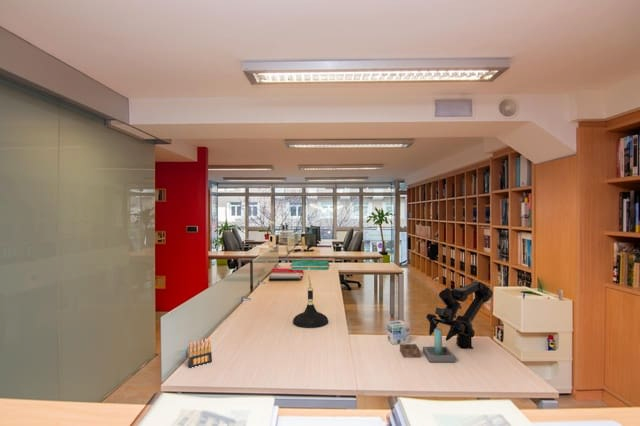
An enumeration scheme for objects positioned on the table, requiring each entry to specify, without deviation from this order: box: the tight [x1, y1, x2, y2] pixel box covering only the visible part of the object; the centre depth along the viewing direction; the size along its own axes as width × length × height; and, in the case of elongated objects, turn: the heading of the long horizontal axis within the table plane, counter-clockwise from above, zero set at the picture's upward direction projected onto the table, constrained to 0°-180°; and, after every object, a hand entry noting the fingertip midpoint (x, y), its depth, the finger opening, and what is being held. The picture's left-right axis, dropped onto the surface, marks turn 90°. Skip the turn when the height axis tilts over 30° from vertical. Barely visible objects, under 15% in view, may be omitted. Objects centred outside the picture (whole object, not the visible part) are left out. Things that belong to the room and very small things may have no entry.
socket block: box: [399, 343, 421, 358], centre depth 175 cm, size 8×8×4 cm
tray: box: [422, 346, 456, 364], centre depth 170 cm, size 12×12×3 cm
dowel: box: [433, 328, 443, 356], centre depth 170 cm, size 4×4×13 cm
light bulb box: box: [387, 319, 411, 345], centre depth 192 cm, size 11×7×11 cm, turn 105°
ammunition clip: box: [187, 337, 213, 369], centre depth 165 cm, size 11×2×12 cm, turn 127°
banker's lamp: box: [289, 259, 331, 329], centre depth 227 cm, size 26×23×40 cm
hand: (437, 337), depth 170 cm, fingers open, 9 cm apart
